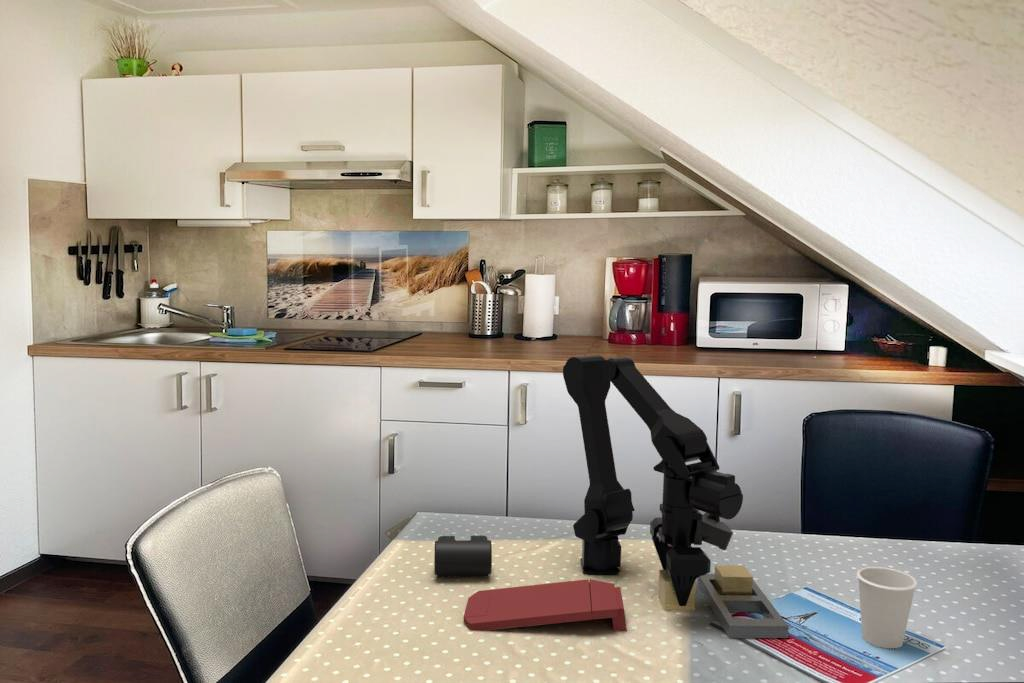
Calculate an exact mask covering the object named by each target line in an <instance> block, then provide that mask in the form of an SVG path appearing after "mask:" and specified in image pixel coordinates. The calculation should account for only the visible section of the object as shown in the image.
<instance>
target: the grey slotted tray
mask: <svg viewBox="0 0 1024 683" xmlns="http://www.w3.org/2000/svg"><path fill="white" fill-rule="evenodd" d="M714 575H715V573H708V574H705V575H703V576H700V577H698V578H697V586H698V588H699V587H700V588H699V590H700V591H701V592H702V594H704V595H703V596H704V598H705V599H706V601H707V603H708V605H709V607H710V606H711V607H710V608H711V610H712V611H713V613H714V615H715V616H716V619H717V620H718V622H719V624H720V626H721V627H722V629H723V630H724V632H725V634H726V635H727V638H728V639H756V638H757V640H759V639H760V638H764V639H765V638H789V625H788V623H787V622H786V621H785V620H784V618H783V617H782V616H781V614H780V612H778V611H777V609H776V608H775V607H774V605H773V604H772V602H771V601H770V600H769V598H768V597H767V596H766V595H765V593H764V591H763V590H762V589H761V588H760V587H759V585H758V584H757V583H756V581H755V579H753V584H752V596H743V595H718V593H717V592H716V590H715V589H714ZM754 612H755V613H756V612H757V613H758V612H759V613H760V612H761V614H762V616H763V618H737V617H736V618H735V617H734V618H733V615H732V614H731V613H754ZM759 613H758V614H759ZM758 638H759V639H758Z"/></svg>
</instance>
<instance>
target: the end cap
mask: <svg viewBox="0 0 1024 683" xmlns="http://www.w3.org/2000/svg"><path fill="white" fill-rule="evenodd" d="M455 538H456V535H440V536H438V538H437V540H435V541H434V556H433V557H434V561H433V562H434V564H433V565H434V566H433V568H434V571H433V572H434V576H437V578H489V575H491V574H492V568H493V567H492V565H493V564H492V563H493V562H492V561H493V560H492V559H493V557H492V556H493V555H492V554H493V551H492V540H490V539H488V537H487V536H486V535H483V534H481V535H475V534H473V535H470V539H467V540H466V539H464V540H461V539H459V540H458V539H457V540H456V539H455Z"/></svg>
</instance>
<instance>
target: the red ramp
mask: <svg viewBox="0 0 1024 683" xmlns="http://www.w3.org/2000/svg"><path fill="white" fill-rule="evenodd" d="M621 589H622V587H621V586H615V583H613V582H607V581H603V580H602V581H601V580H596V579H591V578H589V579H588V578H587V579H579V580H569V581H567V580H566V581H561V582H559V581H558V582H549V583H540V584H539V583H538V584H531V585H530V584H529V585H521V586H512V587H511V586H510V587H505V588H504V587H503V588H501V587H500V588H493V589H484V590H478V591H475V593H473V594H472V595H470V596H469V597H468V598H467V601H466V605H465V610H464V613H463V617H462V618H463V623H464V625H465V626H466V627H467V628H468V629H469V630H470V631H477V632H478V631H480V632H484V631H493V630H495V631H496V630H502V629H513V628H514V629H515V628H522V627H531V626H533V627H534V626H541V625H542V626H543V625H551V624H561V623H562V624H563V623H572V622H573V623H574V622H581V621H582V622H583V621H591V620H599V619H600V620H602V619H612V627H613V631H614V632H628V629H627V620H626V614H625V607H624V601H623V595H622V590H621Z"/></svg>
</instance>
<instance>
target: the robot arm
mask: <svg viewBox="0 0 1024 683" xmlns="http://www.w3.org/2000/svg"><path fill="white" fill-rule="evenodd" d="M562 376H563V380H564V384H565V387H566V388H565V389H566V391H567V393H568V394H569V396H570V398H571V399H572V400H573V401H574V403H575V404H576V406H577V408H578V416H579V420H580V428H581V434H582V439H583V447H584V454H585V460H586V467H587V472H588V480H589V486H588V488H587V492H586V494H585V497H584V499H583V504H584V505H583V507H584V514H583V515H582V516H580V517H579V519H578V520H576V521H575V523H573V527H572V528H573V531H574V536H575V537H576V538H579V539H580V540H581V541H582V544H581V545H582V546H581V558H580V559H579V560H580V566H581V567H582V568H581V569H582V573H583V574H586V575H619V574H620V570H619V568H621V565H622V564H621V563H622V544H621V542H620V541H619V536H623V535H626V533H627V531H628V528H629V526H630V524H631V522H632V521H633V518H634V516H633V515H634V514H633V512H635V508H634V505H633V501H632V491H631V489H630V488H624V487H623V486H622V485H621V483H620V482H619V480H618V478H617V470H616V466H615V465H616V464H615V459H614V452H613V446H612V439H611V432H610V426H609V419H608V413H607V406H606V400H607V397H608V394H609V392H610V389H611V384H612V385H613V386H614V387H615V389H617V391H618V392H619V393H620V395H621V396H622V397H623V398H624V399H625V400H626V402H627V403H628V405H630V407H631V408H632V409H633V410H634V411H635V413H636V414H637V415H638V416H639V417H640V419H641V420H642V422H644V423H645V425H646V427H647V428H648V429H649V431H650V438H651V443H652V445H653V446H654V449H655V450H656V451H657V453H658V456H660V458H661V461H660V462H659V463H657V464H656V465H654V466H653V471H655V472H658V473H661V474H663V477H662V478H663V482H662V503H659V511H660V513H661V517H655V518H654V519H652V520H651V521H650V525H649V529H650V530H649V533H650V535H651V540H652V544H653V545H654V548H655V551H656V554H657V556H658V560H659V561H660V564H661V567H662V570H668V573H669V576H670V579H671V582H672V585H673V589H674V592H675V595H676V598H677V601H678V604H679V606H686V604H687V601H688V599H689V596H690V593H691V590H692V587H693V585H694V582H695V581H696V580H698V577H700V576H703V575H705V574H711V563H712V562H711V559H710V557H709V556H708V554H707V553H706V552H705V551H704V550H703V549H702V548H701V547H700V546H703V542H705V543H706V544H709V545H712V546H715V547H717V548H719V550H722V551H727V549H728V546H729V543H730V541H731V539H732V537H733V534H734V532H733V530H732V529H731V528H730V527H729V526H728V525H727V524H726V523H724V522H723V521H720V518H722V519H725V520H732V519H734V518H735V517H737V515H738V514H739V512H740V510H741V508H742V505H743V500H744V495H743V493H742V489H741V487H740V486H739V484H738V483H736V476H735V474H732V473H724V472H723V473H722V472H720V466H719V463H718V461H717V459H716V457H715V455H714V453H713V451H712V449H711V447H710V445H709V443H708V437H707V434H706V433H705V431H703V429H702V428H701V427H700V426H698V425H697V424H696V423H695V422H693V421H692V419H690V418H688V417H687V416H684V415H681V414H680V413H678V412H676V411H675V410H674V409H673V408H671V407H670V406H669V404H668V403H667V402H666V401H665V400H664V399H663V397H662V396H661V395H660V394H659V393H658V392H657V390H656V389H655V388H654V387H653V386H652V384H650V383H649V381H648V380H647V379H646V378H645V376H644V375H643V374H642V373H641V372H640V371H639V369H637V367H636V364H635V362H634V360H633V359H632V358H629V357H626V356H621V357H620V356H619V357H611V358H607V359H606V358H604V357H603V356H601V355H600V354H593V355H580V356H571V357H569V358H568V359H567V360H566V362H565V365H563V366H562ZM695 461H698V462H695ZM689 462H690V464H687V463H689ZM691 462H693V463H691ZM694 462H695V463H694ZM702 512H704V514H702ZM692 545H694V546H695V547H692ZM696 546H697V547H696Z"/></svg>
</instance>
